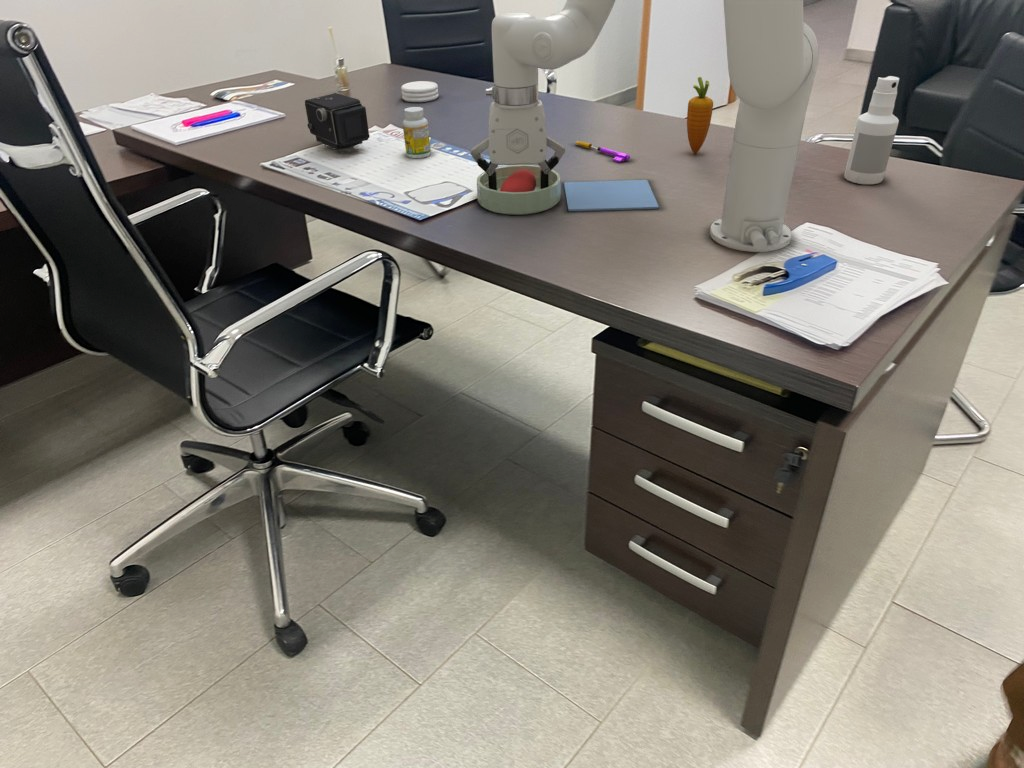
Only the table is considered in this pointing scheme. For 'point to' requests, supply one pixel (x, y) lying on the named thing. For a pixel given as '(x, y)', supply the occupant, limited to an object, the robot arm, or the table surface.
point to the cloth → (609, 195)
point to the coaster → (419, 91)
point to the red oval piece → (519, 182)
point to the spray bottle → (874, 135)
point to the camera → (337, 121)
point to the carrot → (699, 116)
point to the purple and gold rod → (606, 152)
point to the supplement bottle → (416, 133)
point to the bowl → (518, 200)
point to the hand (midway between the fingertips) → (518, 193)
